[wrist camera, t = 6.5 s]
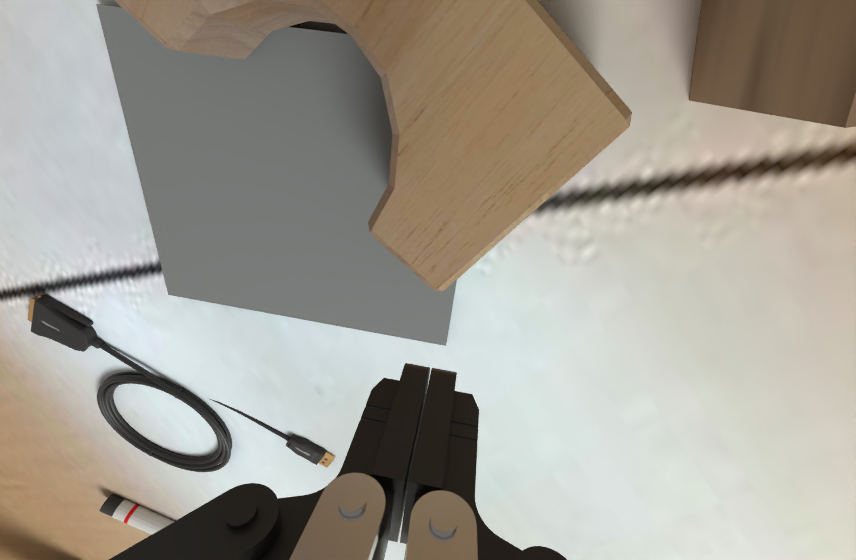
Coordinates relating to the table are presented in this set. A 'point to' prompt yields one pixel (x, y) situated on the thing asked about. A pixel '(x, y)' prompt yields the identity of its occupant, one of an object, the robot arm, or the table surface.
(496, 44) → the decorative block
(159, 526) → the marker
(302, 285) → the mat
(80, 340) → the cable
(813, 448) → the table surface
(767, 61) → the walnut block
